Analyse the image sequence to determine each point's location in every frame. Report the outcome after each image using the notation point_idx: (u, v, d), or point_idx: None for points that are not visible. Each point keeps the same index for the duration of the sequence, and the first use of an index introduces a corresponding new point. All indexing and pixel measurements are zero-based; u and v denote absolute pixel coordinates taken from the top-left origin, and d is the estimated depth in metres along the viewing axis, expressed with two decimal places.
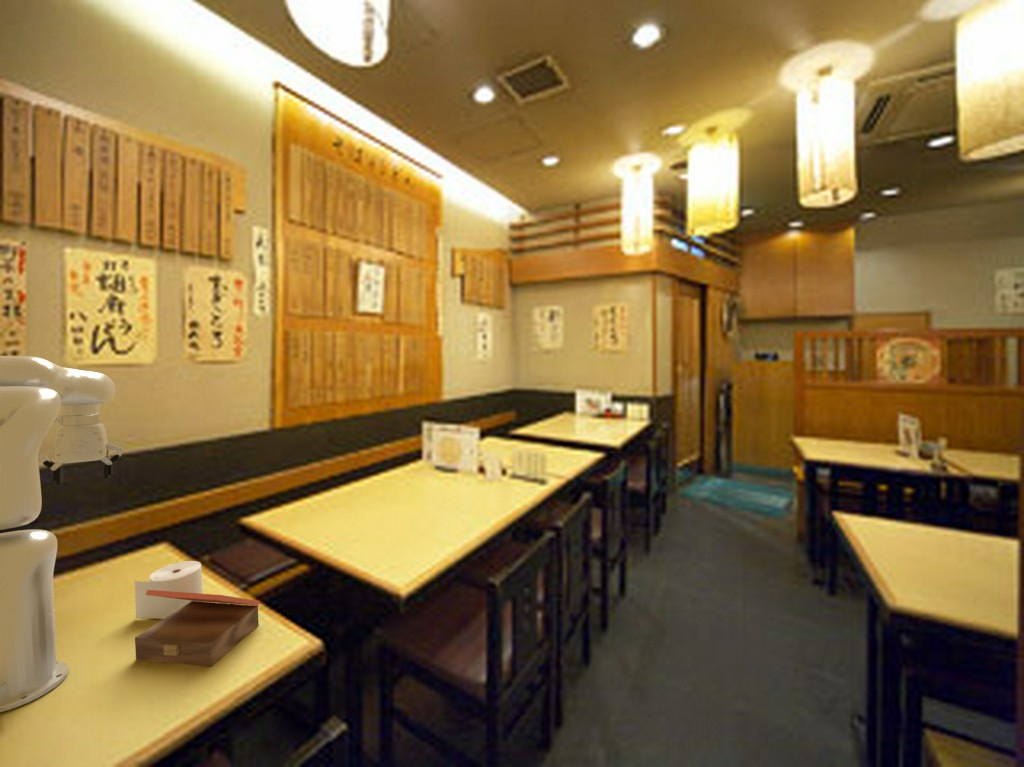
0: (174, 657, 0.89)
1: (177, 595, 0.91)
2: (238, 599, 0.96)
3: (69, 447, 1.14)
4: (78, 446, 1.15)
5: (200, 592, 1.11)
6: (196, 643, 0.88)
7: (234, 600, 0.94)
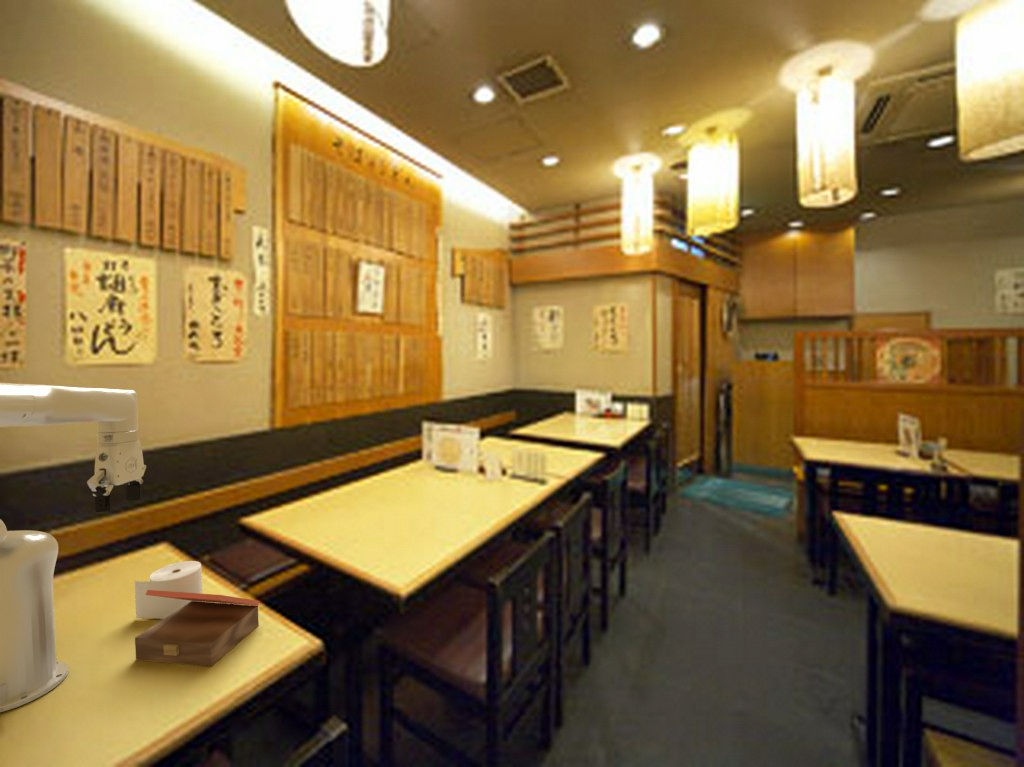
0: (174, 657, 0.89)
1: (177, 595, 0.91)
2: (238, 599, 0.96)
3: (125, 466, 1.04)
4: (131, 465, 1.05)
5: (200, 592, 1.11)
6: (196, 643, 0.88)
7: (234, 600, 0.94)
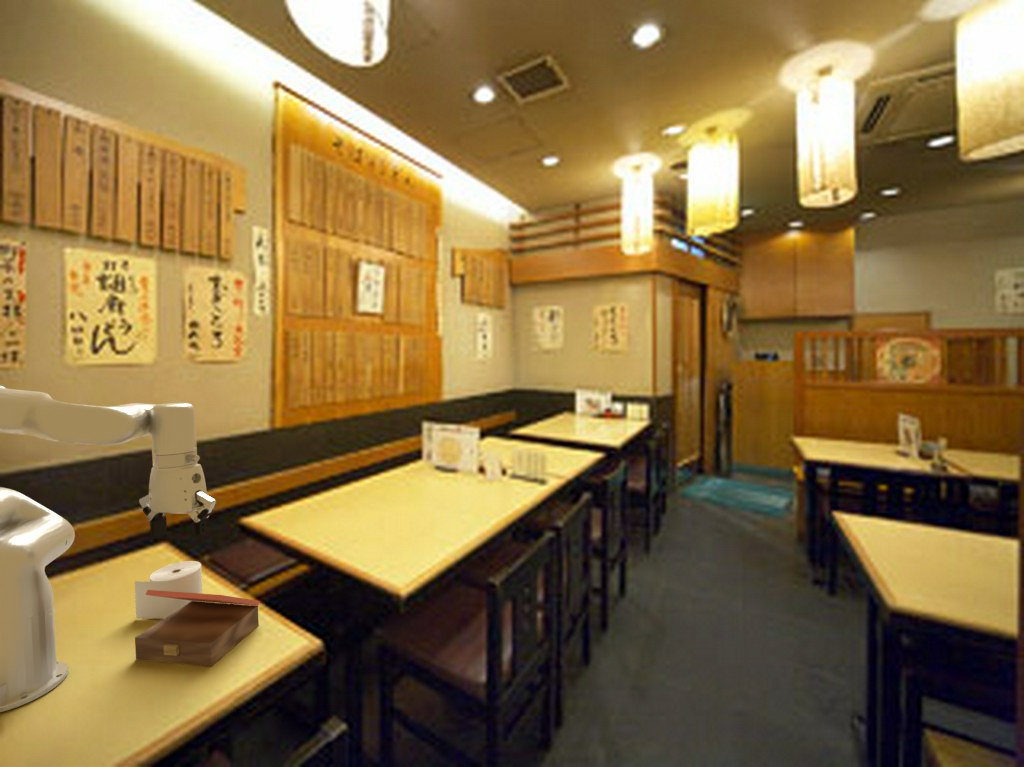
0: (174, 657, 0.89)
1: (177, 595, 0.91)
2: (238, 599, 0.96)
3: None
4: None
5: (200, 592, 1.11)
6: (196, 643, 0.88)
7: (234, 600, 0.94)
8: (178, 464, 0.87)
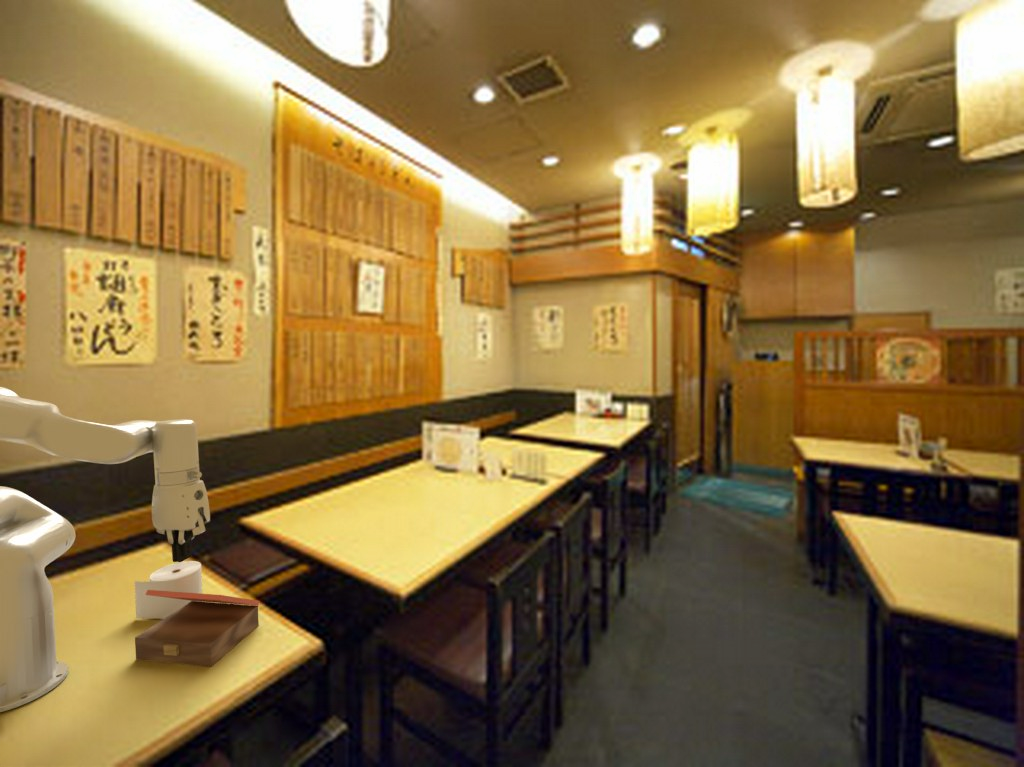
0: (174, 657, 0.89)
1: (177, 595, 0.91)
2: (238, 599, 0.96)
3: None
4: None
5: (200, 592, 1.11)
6: (196, 643, 0.88)
7: (234, 600, 0.94)
8: (180, 481, 0.87)
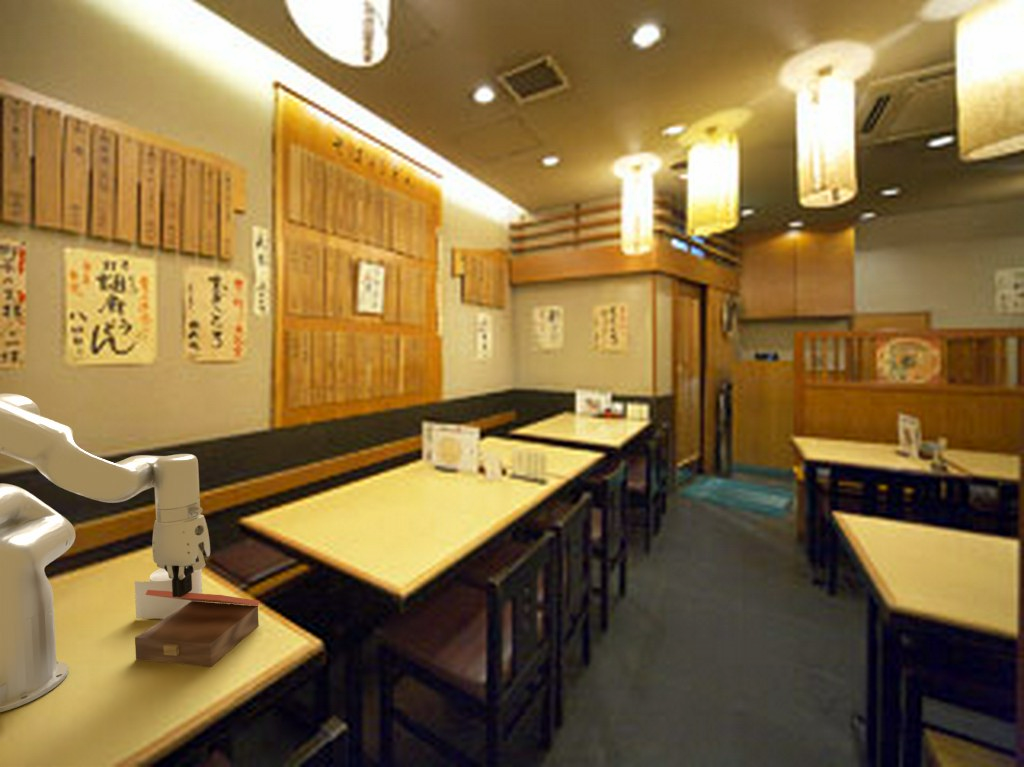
0: (174, 657, 0.89)
1: None
2: (238, 599, 0.96)
3: None
4: None
5: (200, 592, 1.11)
6: (196, 643, 0.88)
7: (234, 600, 0.94)
8: (181, 517, 0.88)
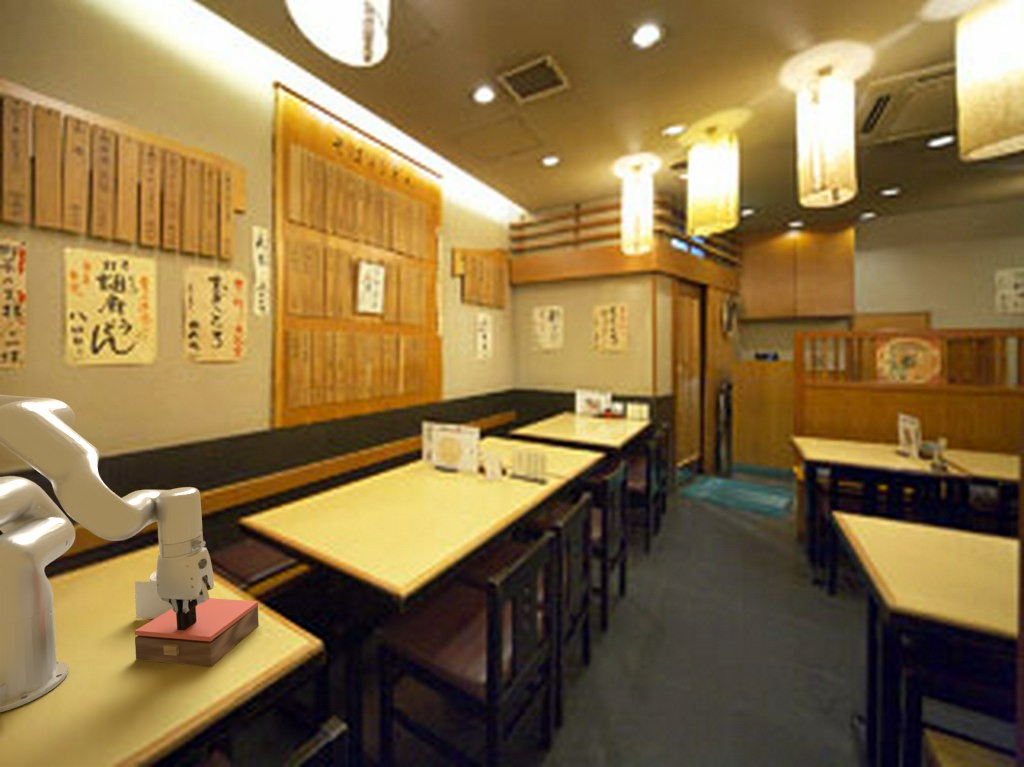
0: (174, 657, 0.89)
1: (167, 636, 0.89)
2: (232, 621, 0.94)
3: None
4: None
5: None
6: (196, 643, 0.88)
7: (228, 626, 0.93)
8: (184, 552, 0.88)
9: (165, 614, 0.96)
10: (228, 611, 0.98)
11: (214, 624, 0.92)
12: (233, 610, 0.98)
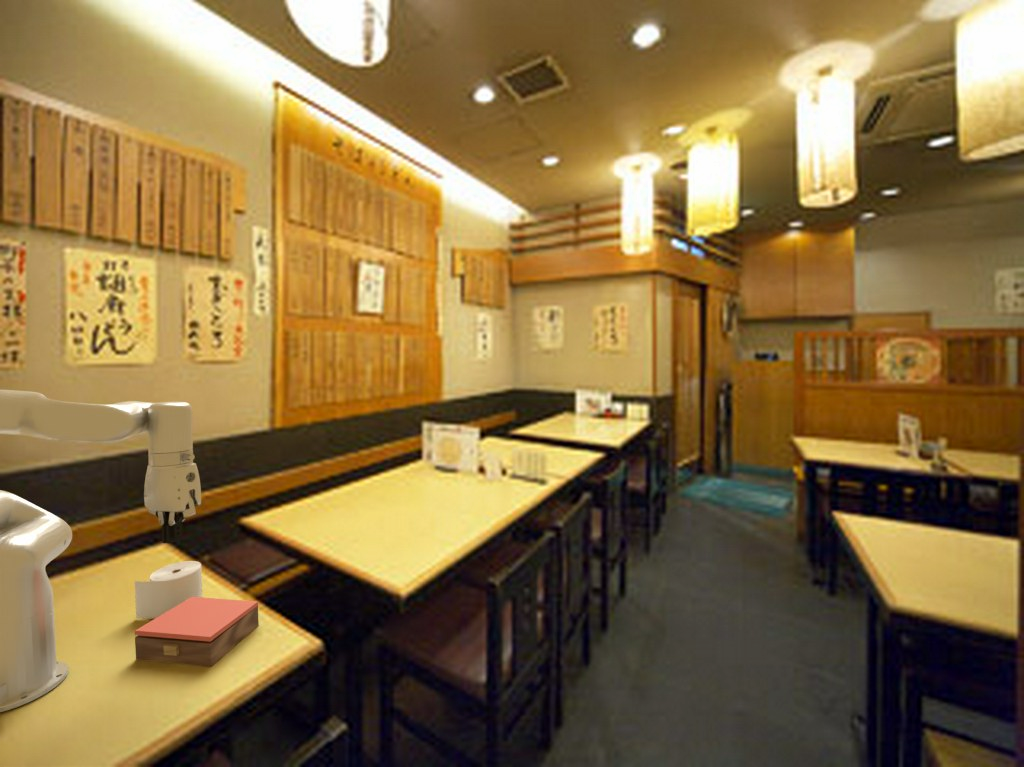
0: (174, 657, 0.89)
1: (167, 636, 0.89)
2: (232, 621, 0.94)
3: None
4: None
5: (200, 592, 1.11)
6: (196, 643, 0.88)
7: (228, 626, 0.93)
8: (173, 463, 0.88)
9: (165, 614, 0.96)
10: (228, 611, 0.98)
11: (214, 624, 0.92)
12: (233, 610, 0.98)
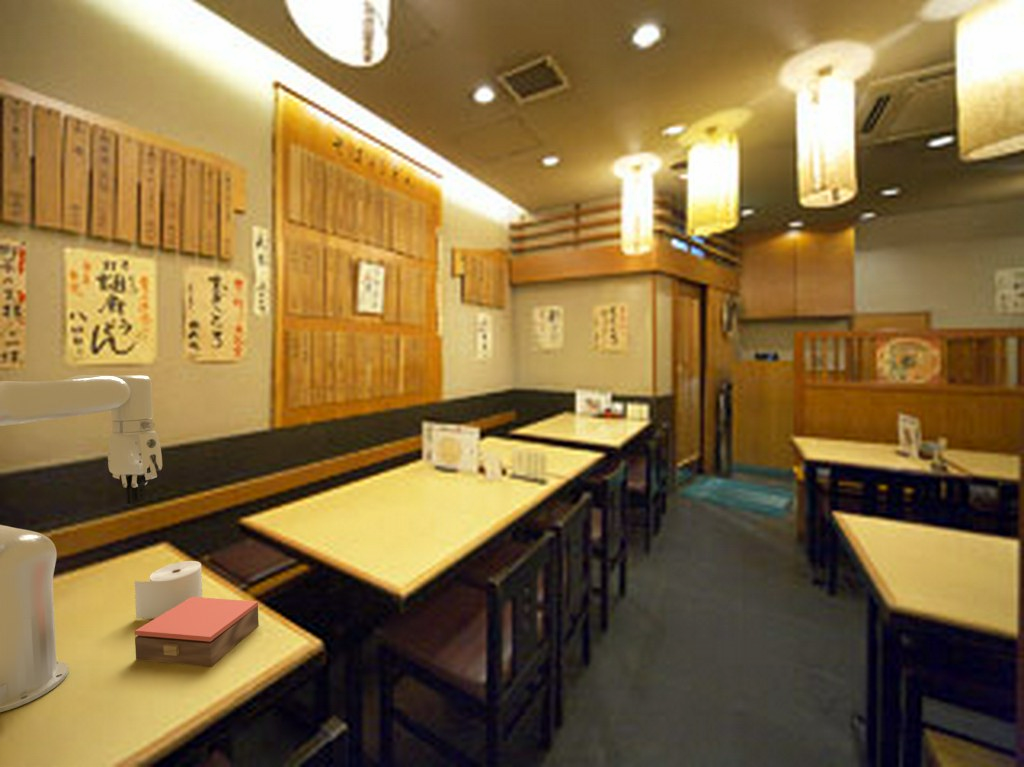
0: (174, 657, 0.89)
1: (167, 636, 0.89)
2: (232, 621, 0.94)
3: None
4: None
5: (200, 592, 1.11)
6: (196, 643, 0.88)
7: (228, 626, 0.93)
8: (134, 430, 0.96)
9: (165, 614, 0.96)
10: (228, 611, 0.98)
11: (214, 624, 0.92)
12: (233, 610, 0.98)
